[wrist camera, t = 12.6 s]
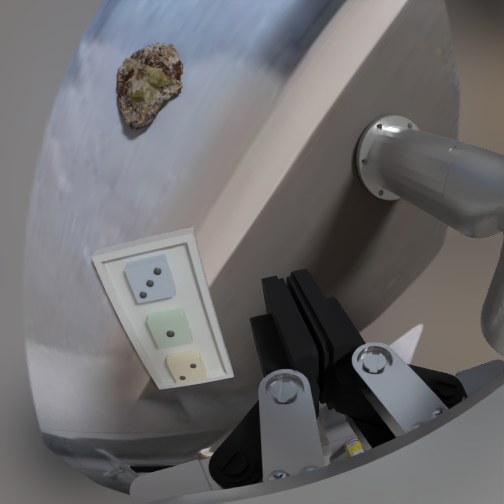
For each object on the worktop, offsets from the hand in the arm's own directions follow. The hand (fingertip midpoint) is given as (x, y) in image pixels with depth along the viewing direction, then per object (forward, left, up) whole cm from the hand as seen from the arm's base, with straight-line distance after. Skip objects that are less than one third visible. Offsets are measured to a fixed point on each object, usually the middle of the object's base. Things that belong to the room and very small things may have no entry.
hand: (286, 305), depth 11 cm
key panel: (+12, +21, -27) cm, 36 cm away
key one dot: (+12, +21, -26) cm, 35 cm away
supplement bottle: (-25, +93, -27) cm, 100 cm away
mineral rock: (+7, -12, -27) cm, 31 cm away
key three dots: (+12, +12, -26) cm, 31 cm away
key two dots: (+12, +30, -26) cm, 41 cm away
